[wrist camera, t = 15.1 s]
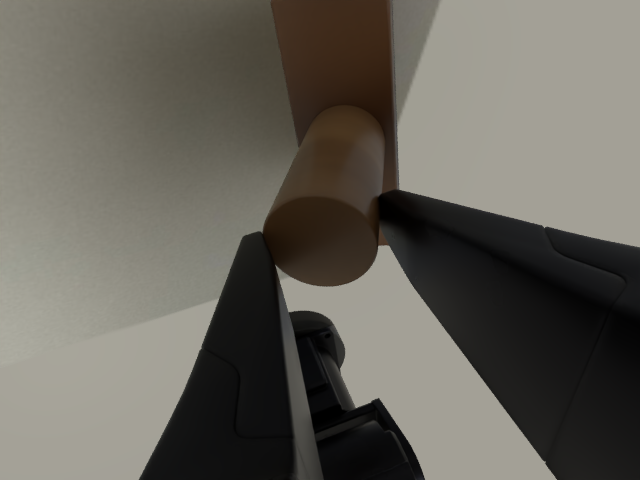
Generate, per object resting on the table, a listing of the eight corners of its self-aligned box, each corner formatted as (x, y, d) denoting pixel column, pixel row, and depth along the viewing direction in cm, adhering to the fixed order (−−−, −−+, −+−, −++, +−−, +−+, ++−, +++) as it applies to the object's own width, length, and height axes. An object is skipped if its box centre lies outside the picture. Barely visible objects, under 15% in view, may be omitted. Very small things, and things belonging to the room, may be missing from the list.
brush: (399, 201, 16) (399, 366, 10) (328, 204, 17) (287, 361, 11) (391, -30, 12) (382, 13, 5) (293, -13, 12) (184, 42, 6)
